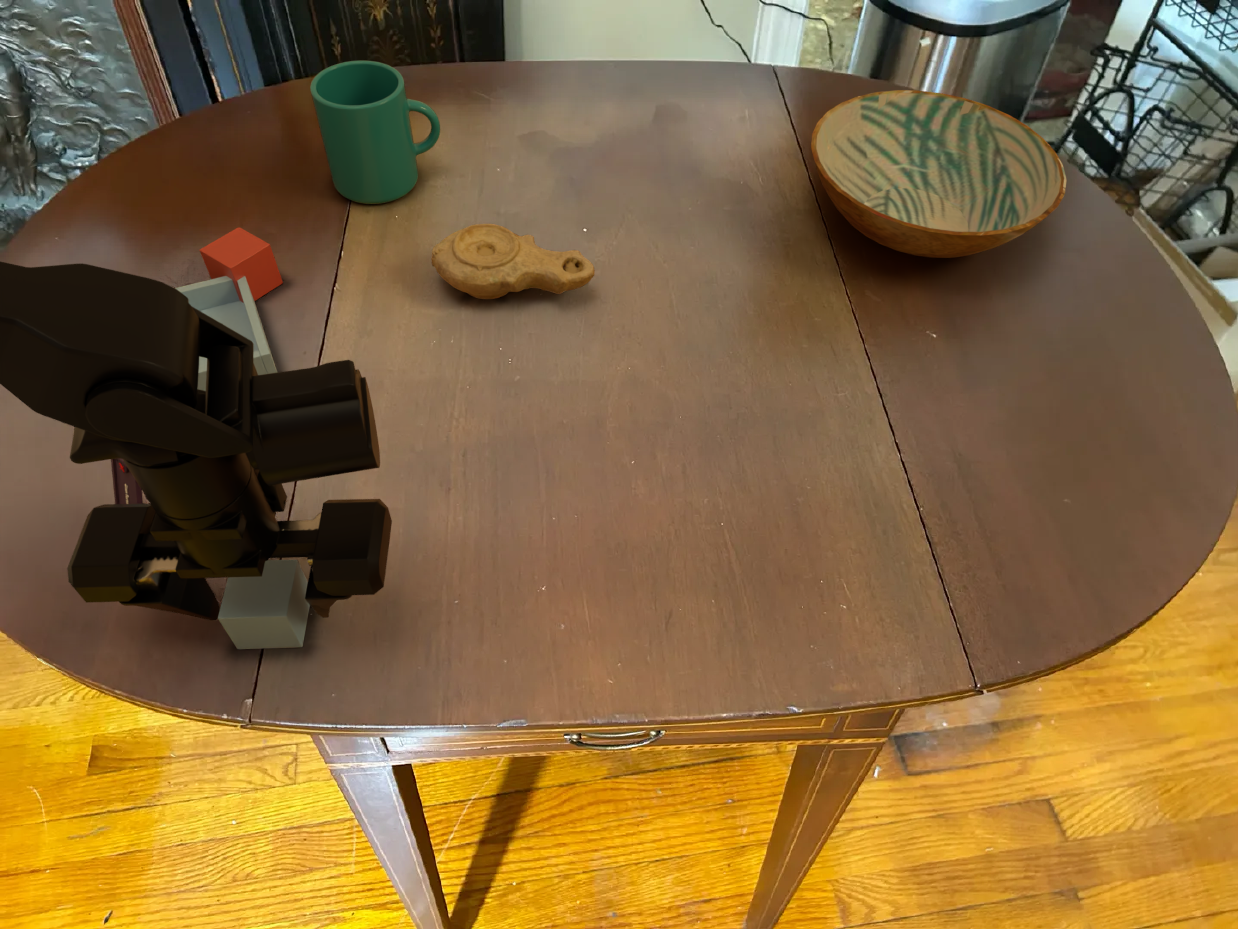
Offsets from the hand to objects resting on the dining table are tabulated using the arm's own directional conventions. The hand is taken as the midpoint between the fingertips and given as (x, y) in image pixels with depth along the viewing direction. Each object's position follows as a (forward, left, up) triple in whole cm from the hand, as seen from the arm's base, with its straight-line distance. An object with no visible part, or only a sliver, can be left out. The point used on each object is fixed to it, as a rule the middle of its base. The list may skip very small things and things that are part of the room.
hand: (271, 612), depth 64 cm
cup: (+23, +48, -1) cm, 53 cm away
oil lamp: (+29, +27, -1) cm, 40 cm away
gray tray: (-1, +29, -1) cm, 30 cm away
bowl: (+72, +20, -1) cm, 74 cm away
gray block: (0, 0, -1) cm, 1 cm away
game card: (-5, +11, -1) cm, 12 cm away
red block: (+5, +37, -1) cm, 37 cm away
